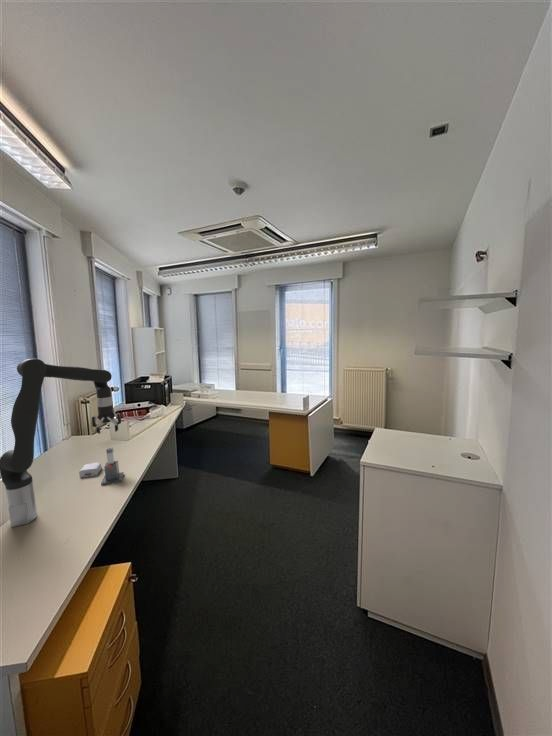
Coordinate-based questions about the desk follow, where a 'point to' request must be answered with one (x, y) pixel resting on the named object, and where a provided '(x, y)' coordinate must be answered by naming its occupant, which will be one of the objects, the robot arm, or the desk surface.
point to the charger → (90, 470)
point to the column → (110, 456)
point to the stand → (112, 474)
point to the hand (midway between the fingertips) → (108, 432)
